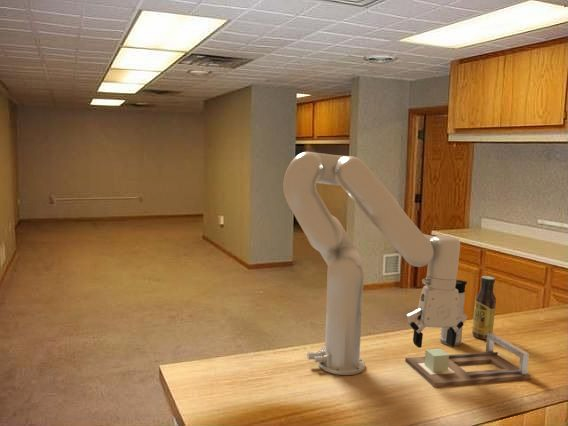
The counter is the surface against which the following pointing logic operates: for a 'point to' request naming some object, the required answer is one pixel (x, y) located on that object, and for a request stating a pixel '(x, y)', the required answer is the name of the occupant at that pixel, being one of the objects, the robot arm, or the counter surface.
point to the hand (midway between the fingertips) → (433, 345)
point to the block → (436, 360)
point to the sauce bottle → (484, 309)
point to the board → (462, 377)
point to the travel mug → (461, 290)
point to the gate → (514, 349)
